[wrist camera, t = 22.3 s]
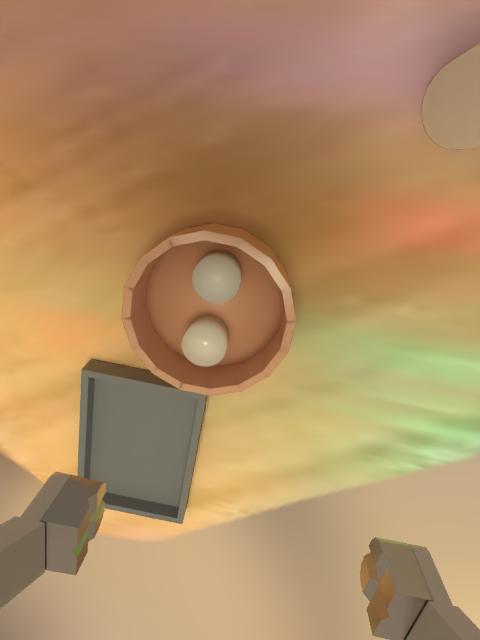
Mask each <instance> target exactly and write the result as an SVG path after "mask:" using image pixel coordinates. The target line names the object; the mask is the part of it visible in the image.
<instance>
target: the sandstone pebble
mask: <svg viewBox="0 0 480 640" xmlns="http://www.w3.org/2000/svg"><path fill="white" fill-rule="evenodd" d="M228 340H229V329H228V327H227V325H226V323H225V322H224V321H223V320H222V319H220V318H219V317H217V316H214V315H209V314H206V315H201V316H198V317H196V318H195V319H194V320H193V321H192V322H191V324H190V325H189V327H188V329H187V331H186V333H185V335H184V337H183V339H182V351H183V353H184V355H185V356H186V358H187V359H188V360H189V361H190V362H192V363H194V364H196V365H198V366H205V367H207V366H212V365H215V364H217V363H218V362H220V361H221V360H222V358H223V357H224V355H225V352H226V348H227V344H228Z"/></svg>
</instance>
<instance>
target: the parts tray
mask: <svg viewBox="0 0 480 640" xmlns="http://www.w3.org/2000/svg"><path fill="white" fill-rule="evenodd" d="M206 400H207V395H204V394H199V393H194V392H189V391H185V390H180V389H178V388H176V387H175V386H173V385H171V384H170V383H168V382H166V381H164V380H163V379H161V378H159V377H158V376H156V375H154V374H153V373H152V372H151V371H148V370H143V369H138V368H133V367H128V366H123V365H118V364H114V363H109V362H104V361H99V360H94V359H91V360H90V361H89V362H88V363H87V364H86V365H85V366H84V367H83V369H82V374H81V400H80V426H79V452H78V477H83V478H87V479H91V480H95V481H100V482H104V483H106V492H105V494H104V496H103V498H102V500H103V501H104V503H105V507H104V508H106V509H111V510H116V511H121V512H126V513H131V514H136V515H140V516H145V517H150V518H155V519H160V520H165V521H170V522H175V523H180V524H182V523H183V519H184V515H185V511H186V507H187V502H188V496H189V491H190V486H191V480H192V475H193V470H194V464H195V459H196V454H197V448H198V443H199V438H200V432H201V427H202V422H203V416H204V411H205V406H206Z"/></svg>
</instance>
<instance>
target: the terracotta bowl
mask: <svg viewBox="0 0 480 640" xmlns="http://www.w3.org/2000/svg"><path fill="white" fill-rule="evenodd" d="M214 250H226V251H228V252H230V253H232V254H234V255H235V256H236V257H237V258H238V260H239V261H240V263H241V266H242V279H241V282H240V286H239V289H238V291H237V293H236V294H235V296H234V297H233V298H231V299H230V300H228V301H226V302H223V303H212V302H208V301H206V300H204V299H203V298H201V297H200V296H199V295H198V294H197V292H196V291H195V289H194V286H193V282H192V275H193V271H194V269H195V267H196V265H197V264H198V263H199V262H200V260H201V259H202V258H203V257H204V256H205V255H206V254H207V253H209V252H211V251H214ZM206 314H209V315H214V316H217V317H219V318H220V319H222V320H223V321H224V322H225V323H226V325H227V327H228V329H229V340H228V344H227V348H226V352H225V355H224V357H223V358H222V360H221V361H220V362H218V363H217V364H215V365H212V366H207V367H205V366H198V365H196V364H194V363H192V362H190V361H189V360H188V359H187V358H186V356H185V355H184V353H183V351H182V339H183V337H184V335H185V333H186V331H187V329H188V327H189V325H190V324H191V322H192V321H193V320H194V319H195V318H196V317H198V316H201V315H206ZM122 321H123V324H124V327H125V330H126V333H127V336H128V339H129V342H130V345H131V348H132V349H133V351H134V352H135V353H136V354H137V355H138V357H139V358H140V359H141V360H142V362H143V363H144V364H145V365H146V366H147V368H148V369H149V370H150V371H151V372H152V373H153V374H154V375H156V376H158V377H159V378H161V379H163V380H164V381H166V382H168V383H170V384H171V385H173V386H175V387H176V388H178V389H180V390H185V391H189V392H194V393H199V394H204V395H209V396H213V395H220V394H227V393H235V392H242V391H243V390H245V389H247V388H249V387H251V386H253V385H254V384H256V383H258V382H260V381H262V380H263V379H265V378H267V377H269V376H270V374H271V373H272V372H273V371H274V369H275V368H276V367H277V366H278V364H279V363H280V362H281V361H282V359H283V358H284V357H285V356H286V354H287V353H288V351H289V347H290V343H291V339H292V336H293V332H294V328H295V325H296V318H295V312H294V305H293V299H292V293H291V287H290V282H289V277H288V273H287V272H286V270H285V269H284V267H283V266H282V264H281V262H280V261H279V259H278V258H277V256H276V255H275V253H274V252H273V250H272V248H271V247H269V246H268V245H266V244H265V243H263V242H262V241H261V240H259V239H258V238H256V237H255V236H253V235H252V234H250V233H249V232H247V231H246V230H244V229H239V228H235V227H230V226H225V225H220V224H215V223H211V224H206V225H201V226H196V227H191V228H186V229H182V230H180V231H178V232H177V233H175V234H173V235H172V236H170V237H168V238H167V239H166V240H164V241H163V242H162V243H160V244H159V245H157V246H156V247H155V248H153V249H152V250H150V251H149V252H148V253H146V254H145V255H143V256H142V257H141V258H140V259H139V261H138V263H137V265H136V266H135V268H134V270H133V272H132V273H131V275H130V277H129V279H128V281H127V282H126V284H125V286H124V296H123V308H122Z"/></svg>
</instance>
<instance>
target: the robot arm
mask: <svg viewBox="0 0 480 640" xmlns="http://www.w3.org/2000/svg"><path fill="white" fill-rule="evenodd" d="M105 492H106V483H104V482H100V481H95V480H91V479H87V478H83V477H78V476H74V475H69V474H64V473H60V472H55V473H54V474H52V475H51V476H50V478H49V479H48V480H47V482H46V483H45V484H44V486H43V487H42V488H41V490H40V491H39V492H38V494H37V495H36V497H35V498H34V499H33V501H32V502H31V503H30V505H29V506H28V507H27V509H26V510H25V511H24V513H23V514H22V516H21V517H13V518H11V519H10V520H8V521H6V522H5V523H2V524H1V525H0V608H2V607H3V606H4V605H6V604H7V603H8V602H9V601H10V600H12V599H13V598H14V597H15V596H16V595H18V594H19V593H20V592H21V591H23V590H24V589H25V588H26V587H27V586H29V585H30V584H31V583H32V582H34V581H35V580H36V579H37V578H38V577H40V576H41V575H42V574H43V573H44V572H45V570H49V571H55V572H61V573H66V574H72V575H76V574H77V572H78V570H79V568H80V566H81V564H82V562H83V560H84V558H85V556H86V554H87V550H88V542H89V541H90V540H92V539H93V538H94V537H95V535H96V533H97V531H98V529H99V526H100V523H101V521H102V518H103V513H104V507H105V503H104V501H103V500H102V498H103V496H104V494H105ZM369 547H370V551H371V553H369V554H367V555H366V556H364V558H363V561H362V563H361V571H360V579H361V586H362V590H363V593H364V594H365V596H366V597H367V598H368V600H369V601H370V603H369V605H368V607H367V612H368V616H369V621H370V625H371V630H372V634H373V636H377V637H381V638H385V639H389V640H480V630H479V629H478V627H477V626H476V625H475V624H474V623H473V622H472V621H471V620H470V619H469V618H468V617H467V616H466V615H465V614H464V613H463V612H462V611H461V609H460V608H459V607H456V606H453V605H452V603H451V600H450V598H449V596H448V594H447V591H446V589H445V587H444V585H443V582H442V580H441V577H440V575H439V573H438V571H437V568H436V566H435V564H434V562H433V559H432V557H431V555H430V552H429V551H428V550H427V548H426V547H421V546H416V545H411V544H407V543H402V542H397V541H392V540H387V539H381V538H376V537H375V538H374V539H372V541H371V543H370V545H369Z"/></svg>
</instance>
